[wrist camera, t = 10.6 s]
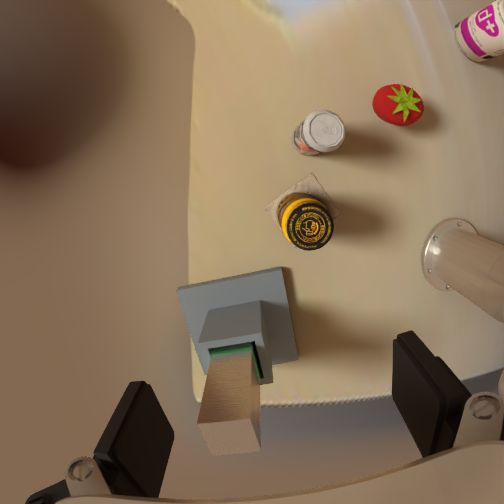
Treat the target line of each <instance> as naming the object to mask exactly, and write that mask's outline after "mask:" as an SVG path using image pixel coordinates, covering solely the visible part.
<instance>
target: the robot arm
mask: <svg viewBox="0 0 504 504" xmlns="http://www.w3.org/2000/svg"><path fill="white" fill-rule="evenodd" d="M433 237H434V238H433ZM422 266H423V271H424V274H425V277H426V278H427V280H428V281H429V283H430V284H431V285H433V286H434V287H435V288H437V289H439V290H443V291H451V290H456V291H457V292H459V293H460V294H461V295H463V296H464V297H466V298H467V299H468V300H470V301H471V302H473V303H474V304H475V305H477V306H478V307H480V308H481V309H482V310H484V311H485V312H486V313H488V314H489V315H490V316H492V317H493V318H494V319H496V320H498V321H500V322H503V323H504V245H502V244H499V243H497V242H494V241H491V240H489V239H486V238H484V237H481V236H478V235H477V233H476V231H475V229H474V228H473V227H472V225H470V224H469V223H468V222H466V221H464V220H461V219H456V218H452V219H447V220H445V221H443V222H441V223H440V224H439V225H437V226H436V227H435V228H434V229H433V231H432V232H431V234H430V235H429V237H428V239H427V241H426V243H425V246H424V249H423V255H422ZM498 388H499V394H500V397H501V398H500V397H499V396H498V395H496V394H494V393H491V392H480V393H477V394H474V395H473V396H472V395H471V393H470V392H469V391H468V390H467V389H466V388H465V386H464V385H463V384H462V383H461V381H460V380H459V379H458V378H457V377H456V375H455V374H454V373H453V372H452V371H451V369H450V368H449V367H448V366H447V365H446V364H445V362H444V361H443V360H442V359H441V358H440V357H437V356H436V357H435V356H434V355H433V354H432V352H431V351H430V350H429V349H428V348H427V347H426V345H425V344H424V343H423V342H422V341H421V340H420V339H419V337H418V336H417V335H416V334H415V333H414V332H413V331H408V332H404V333H401V334H398V335H397V339H394V340H393V376H392V397H393V400H394V402H395V404H396V406H397V408H398V410H399V411H400V413H401V415H402V417H403V419H404V421H405V423H406V425H407V427H408V429H409V430H410V433H411V435H412V437H413V438H414V441H415V443H416V444H417V446H418V448H419V450H420V452H421V454H422V457H423V458H421V459H419V460H416V461H413V462H410V463H407V464H404V465H402V466H398V467H395V468H392V469H389V470H385V471H382V472H379V473H375V474H372V475H368V476H365V477H361V478H357V479H353V480H349V481H345V482H341V483H336V484H332V485H327V486H323V487H317V488H312V489H306V490H300V491H294V492H288V493H281V494H272V495H263V496H254V497H241V498H224V499H223V498H222V499H167V498H158V497H159V493H160V489H161V485H162V482H163V478H164V474H165V470H166V466H167V463H168V459H169V456H170V452H171V448H172V444H173V441H174V431H173V429H172V427H171V425H170V423H169V421H168V420H167V417H166V415H165V414H164V412H163V410H162V408H161V406H160V404H159V402H158V400H157V397H156V395H155V393H154V391H153V389H152V387H151V386H150V385H149V384H147V383H146V382H145V381H135V382H130V383H129V385H128V387H127V388H126V390H125V392H124V394H123V396H122V398H121V400H120V402H119V404H118V405H117V408H116V409H115V411H114V413H113V415H112V417H111V419H110V421H109V423H108V425H107V427H106V428H105V430H104V433H103V434H102V436H101V438H100V440H99V442H98V444H97V446H96V448H95V450H94V457H93V459H92V458H91V457H86V456H85V457H79V458H76V459H74V460H72V461H71V462H70V463H69V464H68V465H67V467H66V469H65V471H64V475H65V479H64V480H62V481H60V482H58V483H56V484H54V485H52V486H50V487H47V488H45V489H43V490H41V491H39V492H36V493H34V494H33V495H31V496H30V497H29V498H28V499H27V501H26V503H25V504H504V370H503V372H502V375H501V377H500V381H499V386H498Z"/></svg>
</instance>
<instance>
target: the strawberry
mask: <svg viewBox="0 0 504 504" xmlns="http://www.w3.org/2000/svg"><path fill="white" fill-rule="evenodd" d="M373 109H374V111H375V113H376V114H377V116H378V117H379V118H381V119H382V120H384V121H386V122H388V123H391V124H394V125H399V126H406V125H410V124H412V123H414V122H415V121H417V120H418V119H419V118H420V117H421V116H422V114H423V110H424V106H423V102H422V99H421V98H420V96H419V95H418V94H417V93H416V92H415V91H414V90H413V88H412V89H411V88H409V87H407V86H404V85H402V84H401V85H400V84H393V85H387V86H384V87H382V88H380V89H379V90H378V91H377V92H376V94H375V96H374V99H373Z"/></svg>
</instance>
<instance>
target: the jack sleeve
mask: <svg viewBox="0 0 504 504" xmlns="http://www.w3.org/2000/svg"><path fill="white" fill-rule="evenodd" d="M176 291H177V294H178V297H179V300H180V303H181V307H182V310H183V313H184V316H185V319H186V322H187V325H188V328H189V331H190V334H191V337H192V340H193V343H194V346H195V349H196V352H197V354H198V357H199V360H200V363H201V366H202V368H203V371H204V374H205V375H207V374H208V369H209V365H210V360H211V356H210V355H211V351H213V348H216V347H222V346H228V345H234V344H240V343H246V342H252V341H255V344H256V348H257V352H258V356H259V360H260V376H261V382H260V385H263V384H269V383H273V373H272V365H274V364H280V363H285V362H290V361H295V360H299V359H298V353H297V348H296V342H295V337H294V331H293V326H292V321H291V316H290V310H289V305H288V300H287V295H286V290H285V284H284V279H283V274H282V269H281V267H276V268H271V269H267V270H262V271H257V272H252V273H247V274H242V275H237V276H232V277H227V278H222V279H217V280H212V281H207V282H202V283H197V284H191V285H186V286H181V287H178V289H177V290H176Z"/></svg>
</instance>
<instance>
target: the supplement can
mask: <svg viewBox="0 0 504 504" xmlns="http://www.w3.org/2000/svg"><path fill="white" fill-rule="evenodd" d="M454 37H455V40H456V43H457V45H458V47H459V48H460V50H461V51H462V52H463V53H464V54H465V55H466V56H467V57H468V58H470V59H471V60H473V61H476V62H482V61H485V60H488V59H490V58H493V57H496V56H499V55H501V54H504V0H497V1H495V2H493V3H491V4H490V5H488V6H486V7H484V8H483V9H481V10H479V11H477V12H476V13H474V14H472V15H471V16H469V17H467V18H466V19H464V20H462V21H461V22H459V23H458V24H456V25H455V28H454Z"/></svg>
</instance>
